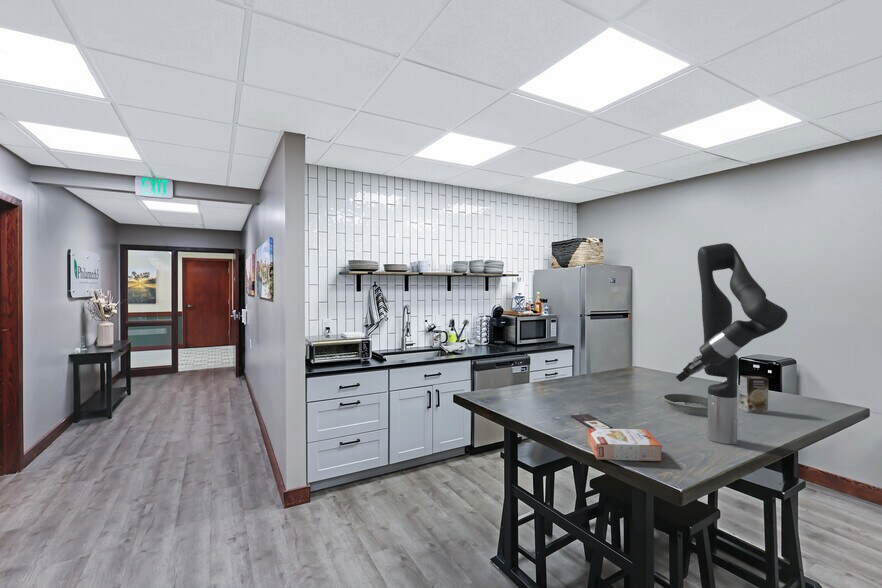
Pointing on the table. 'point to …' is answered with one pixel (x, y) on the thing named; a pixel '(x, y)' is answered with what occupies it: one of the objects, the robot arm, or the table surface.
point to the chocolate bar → (591, 421)
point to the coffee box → (754, 394)
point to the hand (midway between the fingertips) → (678, 379)
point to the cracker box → (624, 444)
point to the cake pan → (696, 410)
